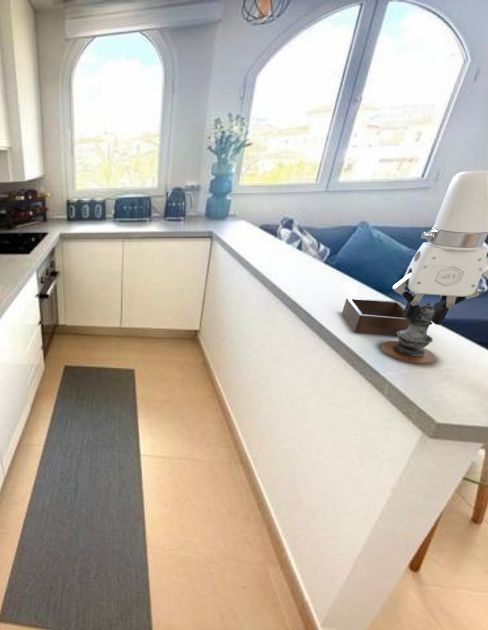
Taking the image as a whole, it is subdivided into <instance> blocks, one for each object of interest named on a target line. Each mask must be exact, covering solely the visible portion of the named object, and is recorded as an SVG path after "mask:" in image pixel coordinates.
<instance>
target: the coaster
mask: <svg viewBox="0 0 488 630" xmlns="http://www.w3.org/2000/svg"><path fill="white" fill-rule="evenodd" d="M397 343H400V342H399V341H398V340H397V341H393V340H392V341H391V340H390V341H385V342H383V343H382V345H381V347H380V349H381V351H382V352H383V353H384V354H386V355H387V356H389V357H391V358H393V359H396V360H398V361H401V362H405V363H408V364H409V363H410V364H417V365H428V364H432V363H434V361H435V359H436V356H435V354H434V353H432V351H430V350H428V349H427V348H426V347H424V348H421V349H423V350H424V352H425V354H424V355H422V356H413V355H408V354H405V353H402V352H399V351H398V350H396V349H395V348H394V345H395V344H397Z"/></svg>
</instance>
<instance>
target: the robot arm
mask: <svg viewBox="0 0 488 630" xmlns="http://www.w3.org/2000/svg"><path fill="white" fill-rule="evenodd" d="M446 190H447V191H446V193H445V196H444V198H443V201H442V204H441V206H440V208H439V211H438V213H437V216H436V219H435V222H434V224H433V227H431V228H430V231H423V232H422V233H421V235H420V239H422V240H423V239H424V240H426V241H427V242H422V244H421V245H420V247H419V248H417V251H416V252H415V254H414V256H413V257H412V259H411V260H410V263H409V265H408V267H407V269H406V271H405V274H404V276H403V277H402V279H400V280H398V282H396V283H395V284H393V286H391V289H392V290H393V291H394V292H395V293H396V294H399V295H400V296H402V297H403V298H404V299H405V301H407V302H406V305H405V306H404V307H405V309H404V312H403V316H404V317H405V318H406V319H407V320H408V321H409V322H414V321H415V319H416V316H417V314H418V312H419V309H420V306H421V305H419V304H420V302H421V301H422V299H423V297H424V296H425V295H431V296H439V301H436V302H435V303H434V305H433V306H432V307H433V308H434V309H435V312H434V314H433V317H432V319H431V322H432V324H435V325H438V326H440V325H441V323H442V321H443V320H445V318H446V317H447V313H449V310H450V309H453V308H454V307H455V305H457V304H459V303H461V302H464V301H465V300H469V299H473V298H476V297H478V296H480V292H479V289H478V286H479V284H480V281H481V278H482V275H483V272H484V269H485V266H486V261H487V255H488V247H486V246H484V243H485V241H486V239H487V237H488V170H485V169H482V170H481V169H480V170H467V171H466V170H465V171H462V172H459V173H457V174H456V175H454V176H453V178H452V179H451V181H450V183H449V185H448V187H447V189H446ZM406 287H407V288H408V290H410V291H408V290H407V289H406Z"/></svg>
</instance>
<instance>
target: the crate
mask: <svg viewBox="0 0 488 630" xmlns="http://www.w3.org/2000/svg"><path fill="white" fill-rule="evenodd" d="M405 307H406V306H405V305H403V303H402V302H400V301H397V300H396V301H395V300H381V299H368V298H357V297H356V298H354V297H346V299H345V301H344V305H343V309H342V311H341V315H342V316H343V318H344V319H345V321H346V322H347V324H348V325H349V326H350V328H351V330H352V331H353V333H357V334H365V335H367V334H368V335H375V336H385V337H394V338H396V337H397V338H398V335H397V332H398V331H400V330H406V329H407V328H408V327H409V325H410V323H411V322H409V321H408V320H407V319H406V318H405V317H404V316H403V312H404V309H405Z"/></svg>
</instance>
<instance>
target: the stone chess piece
mask: <svg viewBox="0 0 488 630" xmlns="http://www.w3.org/2000/svg"><path fill="white" fill-rule="evenodd" d="M419 306H420V309H419V312H418V314H417V316H416V319H415V321H414V322H411V323H410V325H409V327H408V328H407V329H406V330H400V331H398V332H397V335H398V337H397V341H398V342H400V343H397V344H395V345H394V348H395V349H396V350H398V351H399V352H402V353H405V354H408V355H413V356H422V355H424V354H425V352H424V350H423V349H421V348H426V347H427V346H428V345H430V344H431V343H433V341H434V340H433V339H434V338H432V336H430V335H428V334H427V333H428V330H429V327H430V326H431V325H433V322H432V321H431V319H432V317H433V314H434V312H435V309H434V308H433V307H434V306H431V303H430V301H428V302H426V303H425V304H422V305H419Z"/></svg>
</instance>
